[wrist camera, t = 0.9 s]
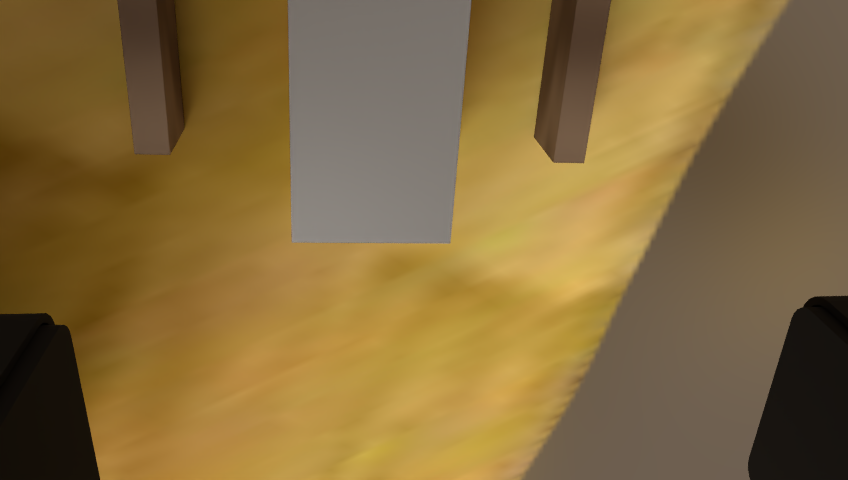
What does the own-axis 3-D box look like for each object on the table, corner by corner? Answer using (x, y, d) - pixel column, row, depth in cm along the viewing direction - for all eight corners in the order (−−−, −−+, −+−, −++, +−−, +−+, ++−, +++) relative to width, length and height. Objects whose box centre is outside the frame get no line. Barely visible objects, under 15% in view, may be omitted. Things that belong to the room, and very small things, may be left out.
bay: (562, 138, 31) (596, 177, 27) (152, 127, 29) (124, 169, 25) (599, -112, 27) (646, -108, 23) (125, -145, 25) (86, -148, 21)
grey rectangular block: (426, 168, 31) (450, 243, 25) (299, 165, 30) (291, 242, 24) (440, -41, 28) (472, -14, 21) (297, -49, 27) (287, -24, 21)
